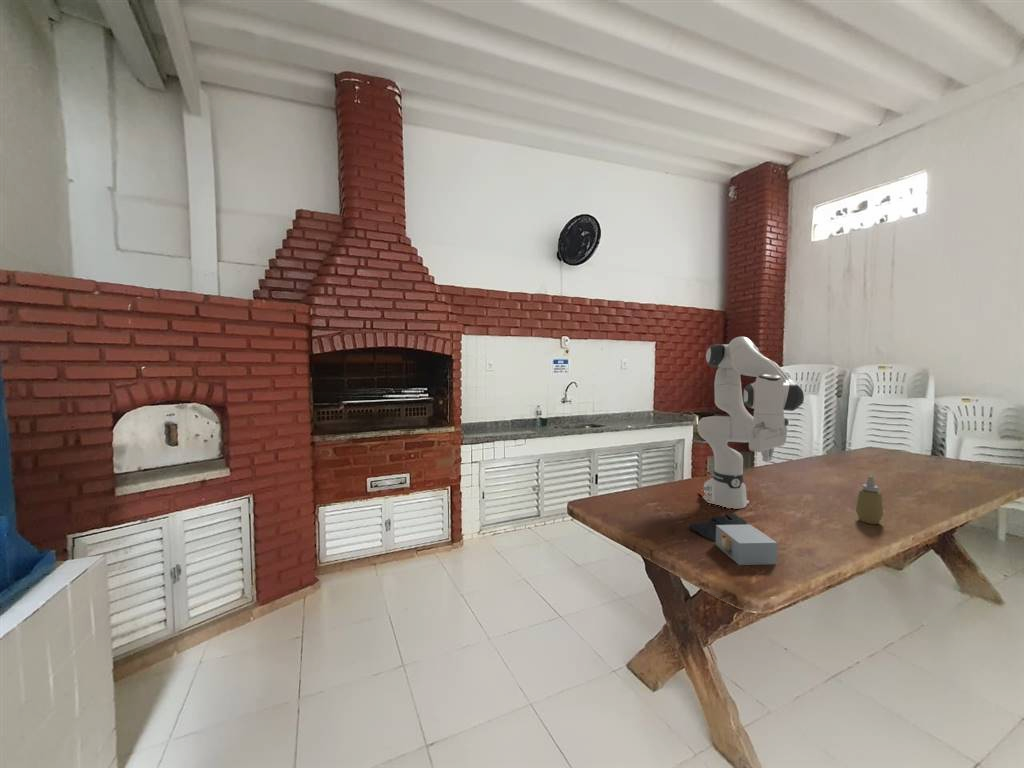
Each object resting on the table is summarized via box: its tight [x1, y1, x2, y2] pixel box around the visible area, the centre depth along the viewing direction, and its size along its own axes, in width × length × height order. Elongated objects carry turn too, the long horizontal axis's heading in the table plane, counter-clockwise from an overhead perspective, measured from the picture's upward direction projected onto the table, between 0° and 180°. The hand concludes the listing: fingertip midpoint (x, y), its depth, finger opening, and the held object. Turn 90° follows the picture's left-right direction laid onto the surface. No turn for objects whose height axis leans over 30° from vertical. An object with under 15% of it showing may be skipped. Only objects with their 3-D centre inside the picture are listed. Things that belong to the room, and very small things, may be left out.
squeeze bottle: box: [855, 475, 884, 525], centre depth 159 cm, size 8×8×18 cm
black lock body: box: [688, 512, 747, 543], centre depth 153 cm, size 15×22×5 cm
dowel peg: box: [722, 538, 731, 551], centre depth 134 cm, size 4×12×4 cm, turn 91°
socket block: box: [715, 523, 778, 566], centre depth 134 cm, size 14×12×7 cm
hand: (767, 460), depth 141 cm, fingers closed
